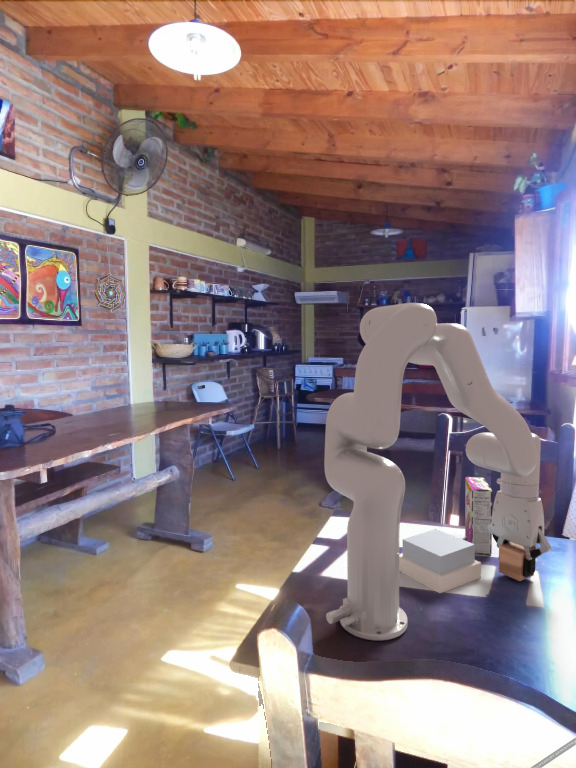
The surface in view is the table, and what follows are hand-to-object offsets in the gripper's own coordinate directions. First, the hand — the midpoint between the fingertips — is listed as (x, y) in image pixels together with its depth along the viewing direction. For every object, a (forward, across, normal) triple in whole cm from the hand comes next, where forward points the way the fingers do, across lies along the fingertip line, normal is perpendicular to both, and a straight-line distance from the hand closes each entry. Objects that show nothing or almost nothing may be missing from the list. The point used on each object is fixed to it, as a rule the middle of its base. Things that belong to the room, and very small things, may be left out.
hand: (516, 569), depth 107 cm
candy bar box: (+2, -16, +8) cm, 18 cm away
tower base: (+3, -11, -12) cm, 17 cm away
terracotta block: (+1, 0, 0) cm, 1 cm away
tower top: (-1, -11, -13) cm, 17 cm away
